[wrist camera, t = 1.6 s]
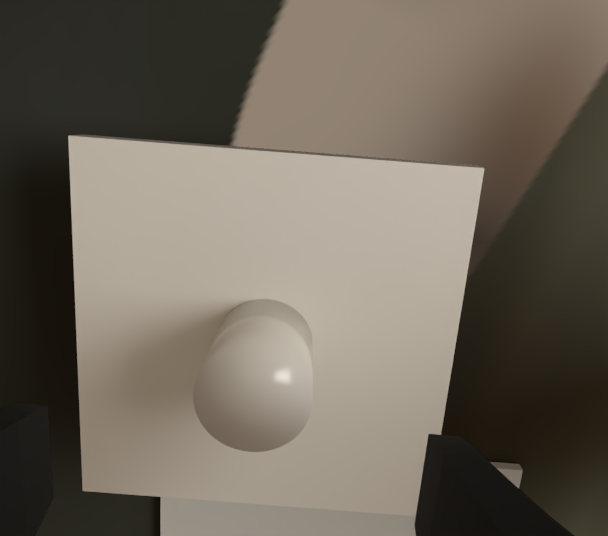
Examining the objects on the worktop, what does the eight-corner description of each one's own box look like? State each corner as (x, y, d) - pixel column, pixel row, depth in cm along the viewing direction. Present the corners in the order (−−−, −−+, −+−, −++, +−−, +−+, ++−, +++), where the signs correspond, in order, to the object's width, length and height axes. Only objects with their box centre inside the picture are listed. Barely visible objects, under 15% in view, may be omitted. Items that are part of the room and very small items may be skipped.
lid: (473, 165, 15) (531, 181, 11) (421, 496, 18) (452, 604, 14) (83, 134, 15) (-1, 140, 11) (94, 471, 18) (31, 572, 14)
